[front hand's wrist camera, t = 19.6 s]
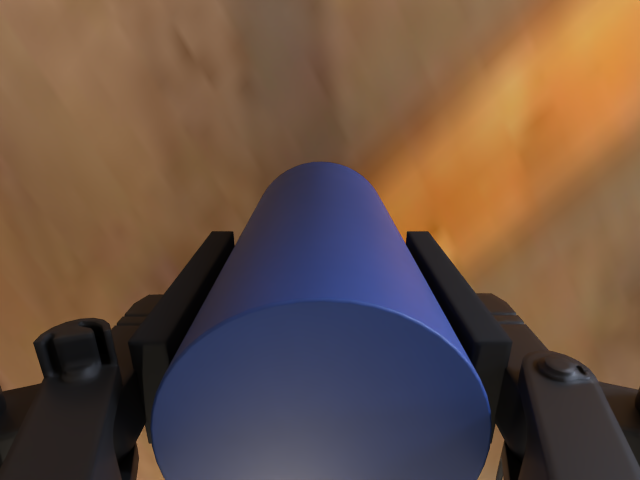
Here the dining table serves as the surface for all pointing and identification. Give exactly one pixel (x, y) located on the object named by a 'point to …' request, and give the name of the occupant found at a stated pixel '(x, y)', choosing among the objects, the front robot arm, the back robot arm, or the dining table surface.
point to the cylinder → (320, 353)
